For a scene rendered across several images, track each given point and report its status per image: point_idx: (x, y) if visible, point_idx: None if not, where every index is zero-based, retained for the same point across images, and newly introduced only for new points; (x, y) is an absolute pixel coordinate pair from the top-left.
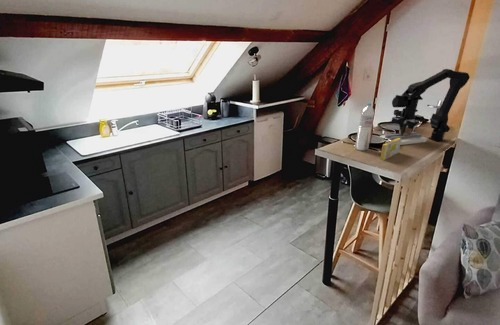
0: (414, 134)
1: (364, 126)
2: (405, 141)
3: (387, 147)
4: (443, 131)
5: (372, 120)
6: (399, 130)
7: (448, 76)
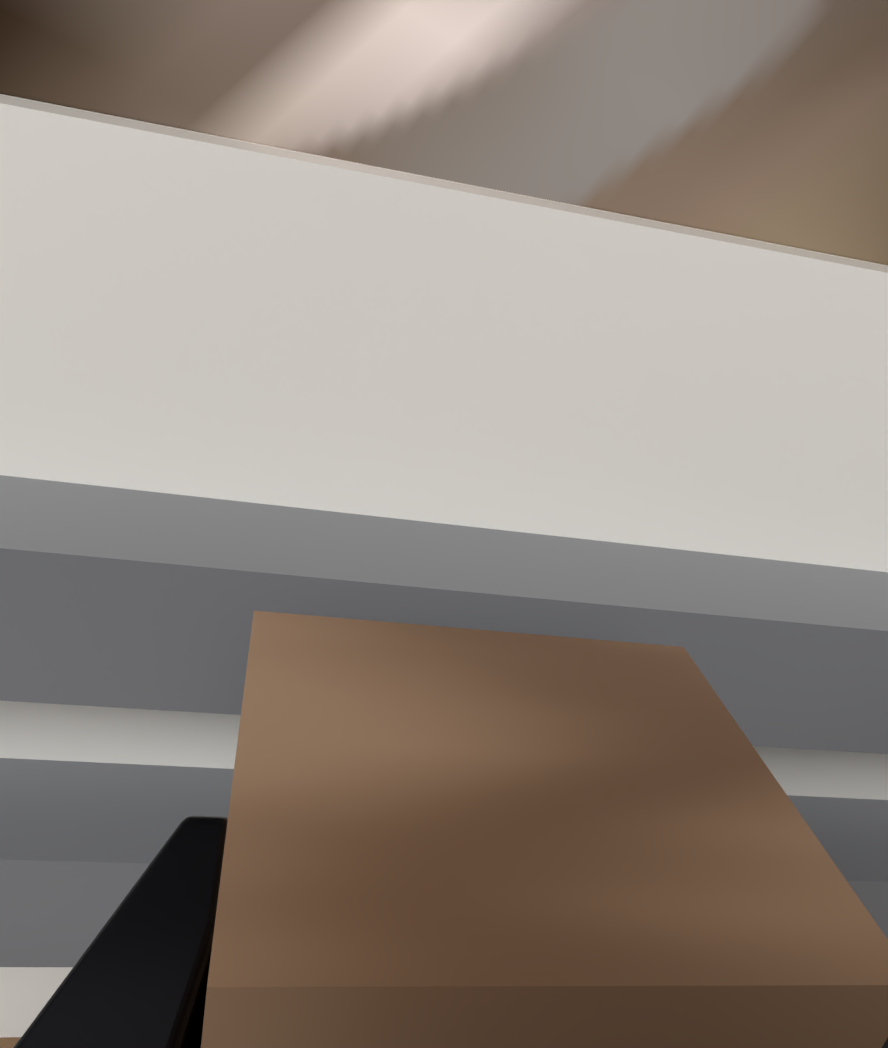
0: (872, 906)
1: None
2: (24, 1024)
3: None
4: None
5: None
6: (238, 744)
7: None
